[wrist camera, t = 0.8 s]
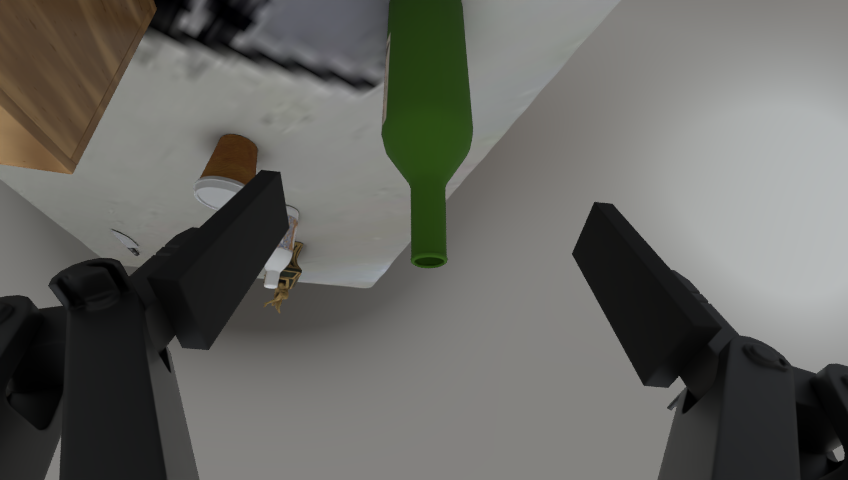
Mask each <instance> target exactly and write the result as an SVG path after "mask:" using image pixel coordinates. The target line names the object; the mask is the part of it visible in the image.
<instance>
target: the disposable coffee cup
mask: <svg viewBox="0 0 848 480" xmlns="http://www.w3.org/2000/svg"><path fill="white" fill-rule="evenodd" d="M257 151H258V150H257V147H256V146H255V144H254V143H253V142H251V141H250V140H248V139H246V138H244V137H242V136H239V135H232V134H229V135H224V136H222V137H221V138H220V140H219V142H218V144H217V146H216V148H215V150H214V152H213V154H212V156H211V158H210V160H209V162H208V164H207V165H206V167H205V169H204V171H203V173H202V175H201V177H200V179H198V180H197V181H196V182H195V183H194V185H193V189H194V191H195V197H196V199H197V200H198V201H199V202H201V203H202V204H204V205H206V206H208V207H210V208H212V209H215V210H219V209H220V208H221V207H222V206H223V205H225V204H226V203H227V202H228V201H229V200H230V199H231V198H232V197H233V196H234V195H235V194H236V193H237V192H238V191H240V190H241V189H242V188H243V187H244V186H245V185H246V184H247V183H248V182H249V181H250V180H251V179H252V178H253V177H255V176H256V162H257Z"/></svg>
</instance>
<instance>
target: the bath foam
mask: <svg viewBox="0 0 848 480" xmlns="http://www.w3.org/2000/svg"><path fill="white" fill-rule="evenodd" d="M286 209H287V215H288V221H289V227H290V228H289V230H288V231H287V233H286V234H285V236H284V237H283V239H282V240H281V242H280V243H279V245H278V246H277V248H276V249H275V251H274V252H273V254H272V255H271V257H270V258H269V260H268V261H267V263H266V264H265V266H264V267H265V269H266V271H267V272H266V277H265V282H264V286H265V287H266V288H277V287H278V281H279V276H280V272H281V271H282V270H283V269H284V268H285V267H286V266H287V265H288V264H289V262H290V260H291V258H292V254H293V248H294V242H295V236H296V230H297V224H298V218H299V213H298V211H297V210H296V209H294V208H292V207H290V206H286Z"/></svg>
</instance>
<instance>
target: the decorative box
mask: <svg viewBox="0 0 848 480" xmlns="http://www.w3.org/2000/svg"><path fill="white" fill-rule="evenodd" d="M302 246H303V244H301V243H299V242H294V248H293V254H292V258H291V260H290V262H289V264H288V265H287V266H286V267H285V268H284V269H283V270H282V271H281V272H280V276H279V281H278V287H277V288H275V294H274V299H273V300H271V301H269V302H266V303H264V304H265V306H266V305H267V303H271V302H273V303H272V306H273V305H275V303H276V308H277V310H278V312H279V313H280V310H279V307H280V305H281V303H282V299H287V298H288V289H291V288H293V287H294V286H295V284H296V282H297V281H298V279H299V277H300V275H301V273H302V270H301V268H300V267H299V266H298V264H297V257H298V255H299V253H300V251H301V248H302ZM266 272H267V271H266ZM264 276H265V277H266V274H265V275H264ZM264 282H265V278H264ZM265 306H264V307H265Z"/></svg>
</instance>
